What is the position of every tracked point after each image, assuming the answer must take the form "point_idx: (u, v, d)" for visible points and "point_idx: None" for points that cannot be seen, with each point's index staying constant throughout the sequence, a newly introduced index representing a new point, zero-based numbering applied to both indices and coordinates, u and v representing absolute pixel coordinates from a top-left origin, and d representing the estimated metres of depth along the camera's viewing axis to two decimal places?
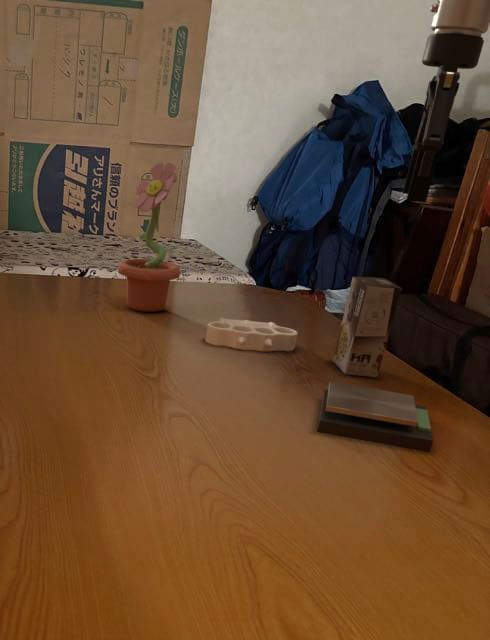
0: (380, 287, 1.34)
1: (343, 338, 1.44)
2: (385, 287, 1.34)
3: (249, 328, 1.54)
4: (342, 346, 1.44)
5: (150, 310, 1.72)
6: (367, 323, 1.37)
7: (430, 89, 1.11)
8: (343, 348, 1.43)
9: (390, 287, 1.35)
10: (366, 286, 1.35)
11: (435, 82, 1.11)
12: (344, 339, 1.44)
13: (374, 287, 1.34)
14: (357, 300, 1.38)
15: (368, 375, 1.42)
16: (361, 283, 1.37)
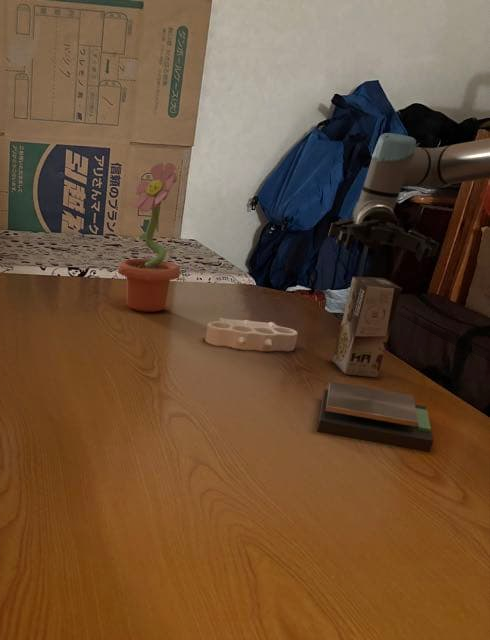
0: (380, 287, 1.34)
1: (343, 338, 1.44)
2: (385, 287, 1.34)
3: (249, 328, 1.54)
4: (342, 346, 1.44)
5: (150, 310, 1.72)
6: (367, 323, 1.37)
7: None
8: (343, 348, 1.43)
9: (390, 287, 1.35)
10: (366, 286, 1.35)
11: None
12: (344, 339, 1.44)
13: (374, 287, 1.34)
14: (357, 300, 1.38)
15: (368, 375, 1.42)
16: (361, 283, 1.37)
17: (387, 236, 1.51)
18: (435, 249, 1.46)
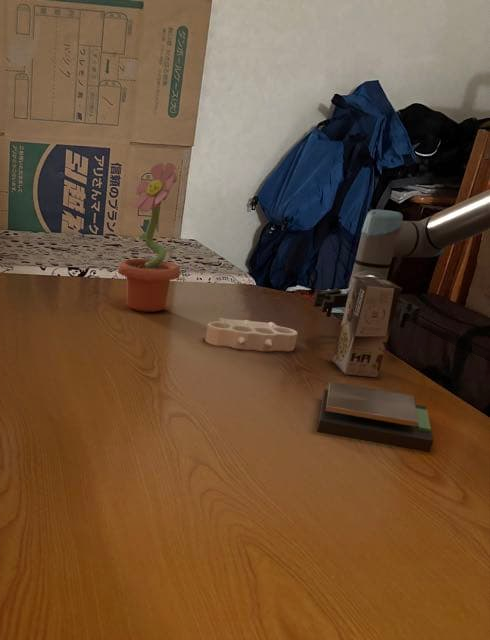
0: (380, 287, 1.34)
1: (343, 338, 1.44)
2: (385, 287, 1.34)
3: (249, 328, 1.54)
4: (342, 346, 1.44)
5: (150, 310, 1.72)
6: (367, 323, 1.37)
7: None
8: (343, 348, 1.43)
9: (390, 287, 1.35)
10: (366, 286, 1.35)
11: None
12: (344, 339, 1.44)
13: (374, 287, 1.34)
14: (357, 300, 1.38)
15: (368, 375, 1.42)
16: (361, 283, 1.37)
17: None
18: (418, 314, 1.51)
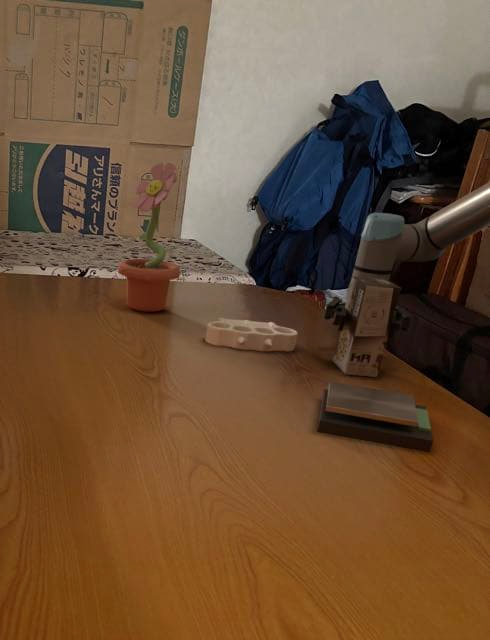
0: (379, 287, 1.34)
1: (343, 338, 1.44)
2: (384, 287, 1.34)
3: (249, 328, 1.54)
4: (342, 346, 1.44)
5: (150, 310, 1.72)
6: (366, 323, 1.37)
7: None
8: (343, 348, 1.43)
9: (389, 287, 1.35)
10: (365, 286, 1.35)
11: None
12: (343, 339, 1.44)
13: (373, 287, 1.34)
14: (356, 300, 1.38)
15: (368, 375, 1.42)
16: (360, 283, 1.37)
17: None
18: (407, 323, 1.42)
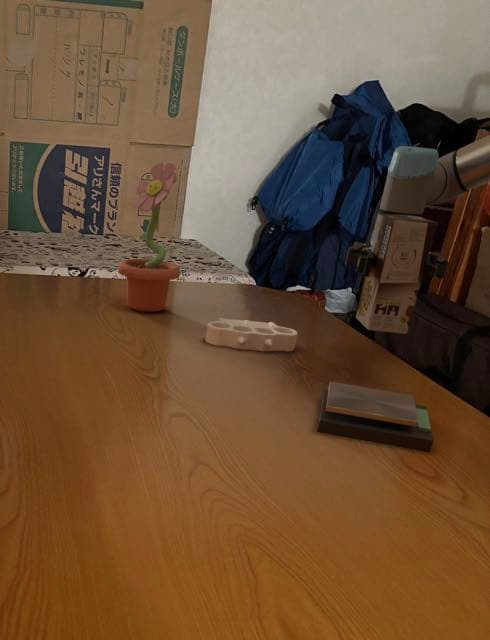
0: (410, 222, 1.12)
1: (367, 288, 1.21)
2: (416, 221, 1.12)
3: (249, 328, 1.54)
4: (365, 298, 1.22)
5: (150, 310, 1.72)
6: (394, 267, 1.15)
7: None
8: (367, 299, 1.21)
9: (423, 222, 1.12)
10: (393, 221, 1.12)
11: None
12: (368, 289, 1.21)
13: (403, 222, 1.12)
14: (383, 240, 1.16)
15: (396, 331, 1.19)
16: (388, 219, 1.15)
17: None
18: (443, 269, 1.19)
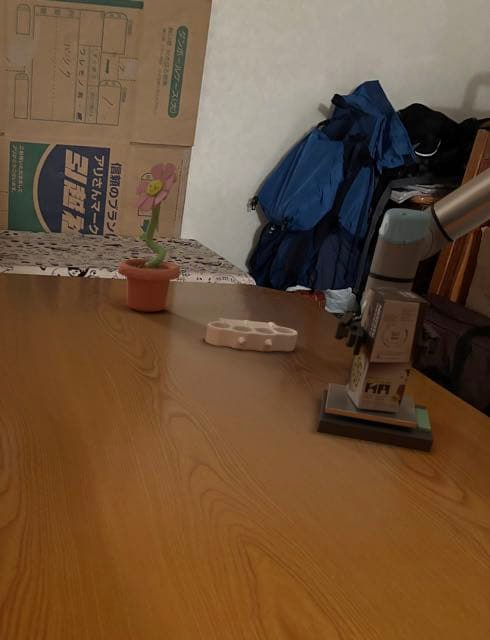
0: (401, 301, 1.07)
1: (357, 363, 1.17)
2: (408, 301, 1.07)
3: (249, 328, 1.54)
4: (355, 374, 1.17)
5: (150, 310, 1.72)
6: (385, 346, 1.10)
7: None
8: (357, 376, 1.16)
9: (414, 301, 1.07)
10: (384, 300, 1.08)
11: None
12: (357, 365, 1.17)
13: (394, 301, 1.07)
14: (373, 317, 1.11)
15: (387, 410, 1.15)
16: (378, 296, 1.10)
17: None
18: (435, 345, 1.15)
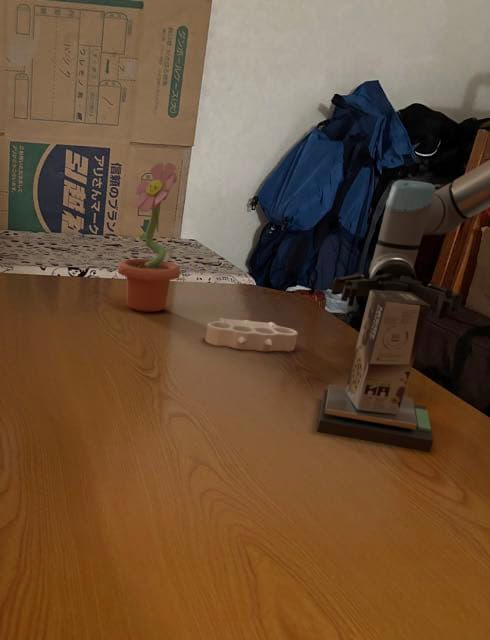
0: (402, 304, 1.07)
1: (357, 365, 1.17)
2: (408, 304, 1.07)
3: (249, 328, 1.54)
4: (355, 375, 1.17)
5: (150, 310, 1.72)
6: (385, 348, 1.10)
7: None
8: (357, 377, 1.16)
9: (415, 304, 1.07)
10: (384, 302, 1.08)
11: None
12: (357, 366, 1.17)
13: (394, 304, 1.07)
14: (373, 319, 1.11)
15: (386, 412, 1.15)
16: (379, 298, 1.10)
17: (402, 291, 1.31)
18: (458, 303, 1.25)
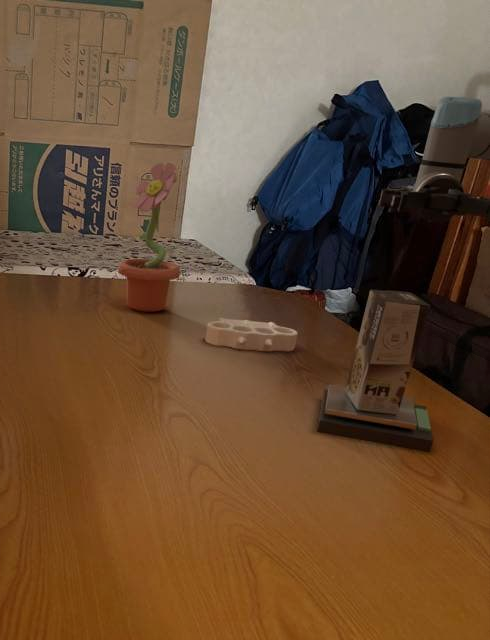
0: (402, 304, 1.07)
1: (357, 365, 1.17)
2: (408, 304, 1.07)
3: (249, 328, 1.54)
4: (355, 375, 1.17)
5: (150, 310, 1.72)
6: (385, 348, 1.10)
7: (424, 210, 1.32)
8: (357, 377, 1.16)
9: (415, 304, 1.07)
10: (384, 302, 1.08)
11: None
12: (357, 366, 1.17)
13: (394, 304, 1.07)
14: (373, 319, 1.11)
15: (386, 412, 1.15)
16: (379, 298, 1.10)
17: (451, 203, 1.28)
18: None
